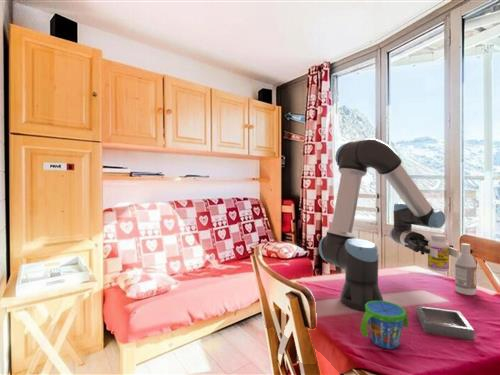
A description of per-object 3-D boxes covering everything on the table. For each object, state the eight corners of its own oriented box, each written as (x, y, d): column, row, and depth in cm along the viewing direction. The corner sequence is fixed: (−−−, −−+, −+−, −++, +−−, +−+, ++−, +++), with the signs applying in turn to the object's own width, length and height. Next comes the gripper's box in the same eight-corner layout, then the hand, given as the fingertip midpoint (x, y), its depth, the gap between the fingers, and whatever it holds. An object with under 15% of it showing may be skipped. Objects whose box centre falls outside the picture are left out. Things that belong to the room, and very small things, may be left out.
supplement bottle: (429, 270, 104) (429, 236, 103) (426, 265, 110) (426, 232, 109) (451, 272, 101) (451, 237, 101) (446, 267, 107) (447, 234, 107)
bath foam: (474, 297, 110) (475, 246, 110) (453, 292, 115) (453, 244, 115) (477, 292, 115) (477, 243, 115) (456, 287, 120) (457, 241, 120)
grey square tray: (424, 332, 86) (424, 322, 86) (416, 314, 97) (416, 305, 97) (474, 340, 81) (474, 330, 81) (459, 320, 93) (459, 311, 93)
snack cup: (394, 329, 88) (394, 297, 88) (422, 348, 78) (422, 312, 77) (350, 336, 84) (349, 303, 84) (373, 358, 74) (373, 320, 74)
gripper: (436, 248, 123) (475, 264, 100) (390, 248, 124) (418, 264, 101) (436, 231, 122) (475, 243, 99) (390, 231, 123) (418, 243, 100)
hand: (447, 254), depth 100 cm, fingers closed on supplement bottle, 7 cm apart
